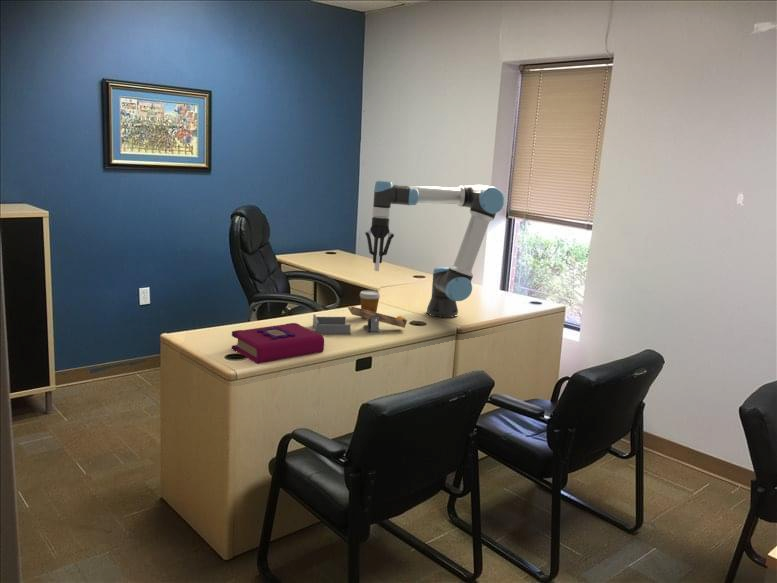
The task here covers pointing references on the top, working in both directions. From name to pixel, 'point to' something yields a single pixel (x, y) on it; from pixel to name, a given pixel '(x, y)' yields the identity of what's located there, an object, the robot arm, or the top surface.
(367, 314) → the lever
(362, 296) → the disposable coffee cup
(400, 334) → the top surface
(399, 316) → the ball
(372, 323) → the fulcrum
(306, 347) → the book
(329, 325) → the tray
